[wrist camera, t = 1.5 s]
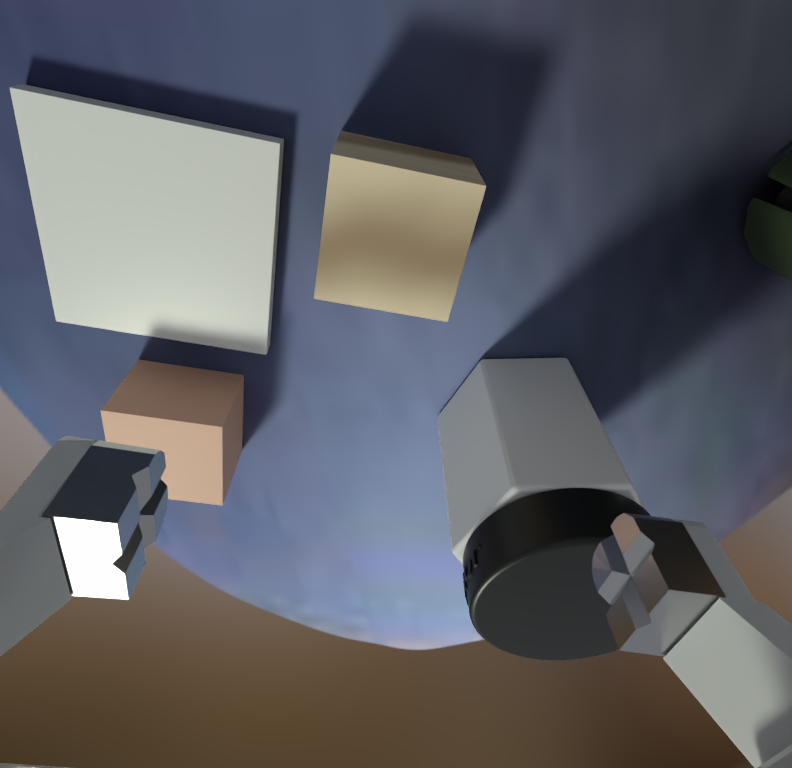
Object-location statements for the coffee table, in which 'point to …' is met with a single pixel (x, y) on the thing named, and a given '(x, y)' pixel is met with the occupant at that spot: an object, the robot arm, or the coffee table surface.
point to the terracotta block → (182, 425)
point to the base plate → (153, 219)
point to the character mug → (773, 224)
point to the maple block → (396, 226)
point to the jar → (532, 506)
